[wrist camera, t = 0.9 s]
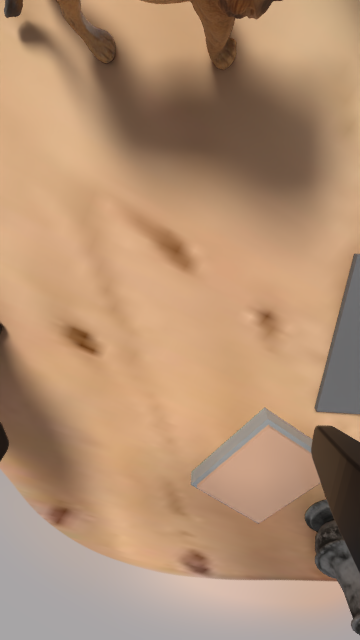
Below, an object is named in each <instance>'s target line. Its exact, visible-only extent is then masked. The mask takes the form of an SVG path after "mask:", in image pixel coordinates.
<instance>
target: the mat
mask: <svg viewBox="0 0 360 640" xmlns="http://www.w3.org/2000/svg"><path fill="white" fill-rule="evenodd" d="M315 409H316V411H319V412H335V413H350V414H360V254H354V257H353V261H352V265H351V269H350V273H349V277H348V281H347V285H346V288H345V292H344V296H343V300H342V304H341V308H340V312H339V316H338V319H337V323H336V327H335V331H334V335H333V339H332V343H331V347H330V350H329V354H328V358H327V362H326V366H325V370H324V374H323V378H322V381H321V385H320V389H319V393H318V397H317V401H316V405H315Z"/></svg>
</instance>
